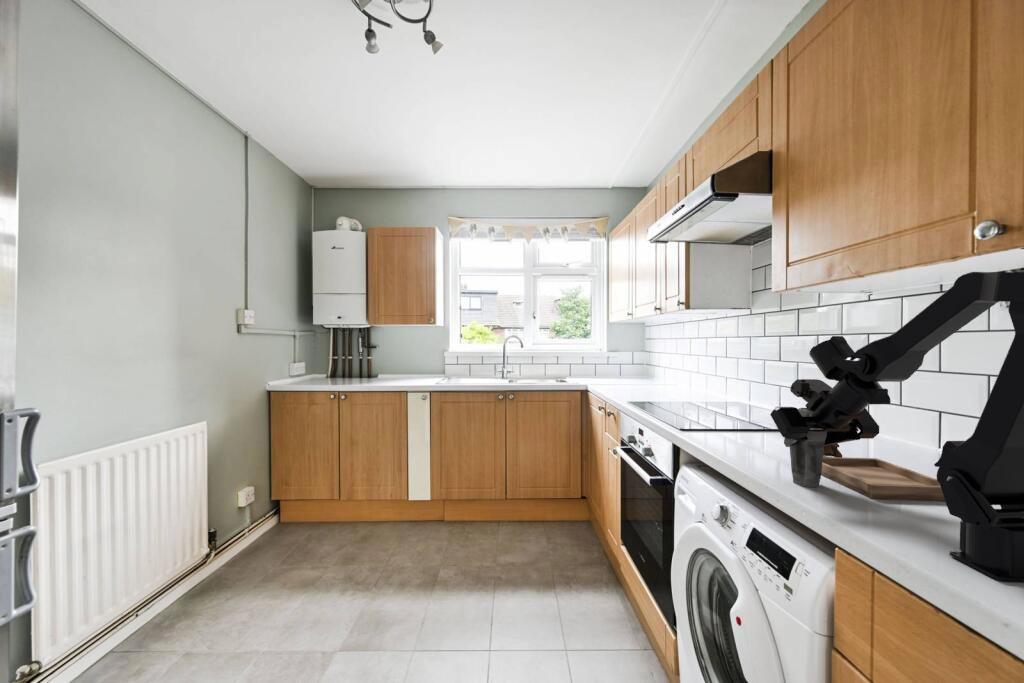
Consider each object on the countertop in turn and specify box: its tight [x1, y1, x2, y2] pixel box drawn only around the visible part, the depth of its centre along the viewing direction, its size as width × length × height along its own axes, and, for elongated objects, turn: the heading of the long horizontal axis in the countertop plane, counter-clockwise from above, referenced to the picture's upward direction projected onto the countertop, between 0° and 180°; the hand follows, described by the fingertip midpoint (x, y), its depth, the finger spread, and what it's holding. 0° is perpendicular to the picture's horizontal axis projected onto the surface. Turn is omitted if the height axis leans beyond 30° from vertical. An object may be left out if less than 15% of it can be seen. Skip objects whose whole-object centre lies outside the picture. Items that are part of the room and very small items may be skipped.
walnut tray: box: [821, 456, 946, 502], centre depth 90 cm, size 20×16×2 cm
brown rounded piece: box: [823, 443, 843, 458], centre depth 109 cm, size 12×10×8 cm
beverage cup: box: [789, 407, 827, 488], centre depth 89 cm, size 7×7×20 cm
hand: (801, 444), depth 90 cm, fingers closed on beverage cup, 7 cm apart
